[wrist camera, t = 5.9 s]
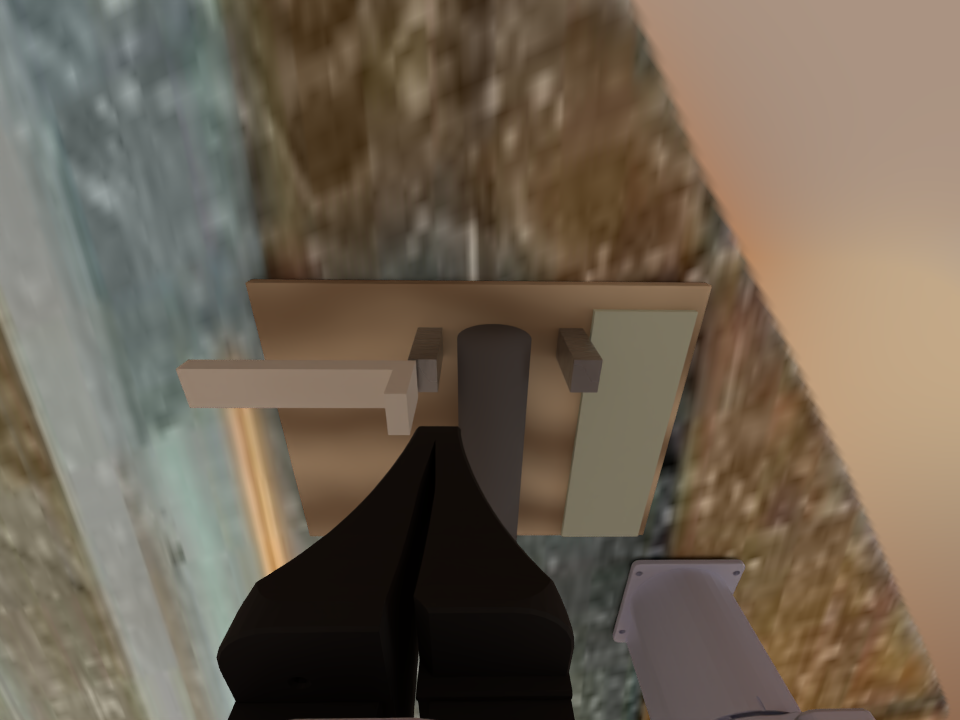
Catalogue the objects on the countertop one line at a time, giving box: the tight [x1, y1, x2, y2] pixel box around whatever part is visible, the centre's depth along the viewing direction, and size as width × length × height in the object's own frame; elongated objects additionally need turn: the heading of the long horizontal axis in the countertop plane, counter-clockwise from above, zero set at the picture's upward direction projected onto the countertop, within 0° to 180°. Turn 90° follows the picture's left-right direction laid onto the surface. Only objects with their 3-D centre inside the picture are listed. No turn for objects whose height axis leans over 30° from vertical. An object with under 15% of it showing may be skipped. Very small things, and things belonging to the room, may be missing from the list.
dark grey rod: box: [457, 324, 532, 541], centre depth 22 cm, size 14×3×3 cm, turn 179°
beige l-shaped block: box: [176, 360, 418, 435], centre depth 16 cm, size 2×9×3 cm, turn 90°
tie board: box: [246, 279, 712, 537], centre depth 22 cm, size 17×22×4 cm
